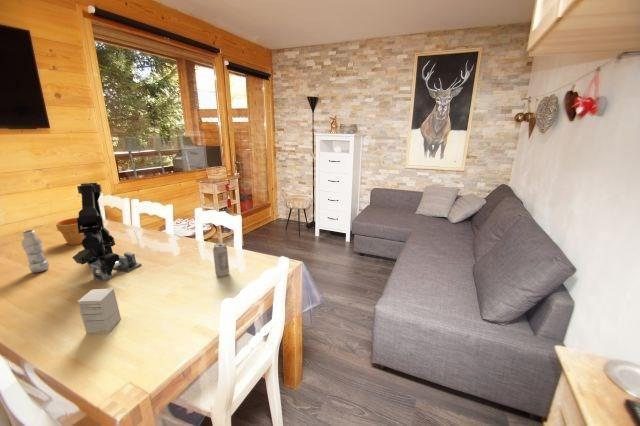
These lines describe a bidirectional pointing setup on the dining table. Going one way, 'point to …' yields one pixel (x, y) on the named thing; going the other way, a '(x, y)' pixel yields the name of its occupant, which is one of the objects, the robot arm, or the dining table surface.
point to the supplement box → (99, 310)
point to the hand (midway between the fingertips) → (102, 273)
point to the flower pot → (70, 231)
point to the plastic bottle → (34, 252)
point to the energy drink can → (221, 259)
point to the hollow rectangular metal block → (103, 272)
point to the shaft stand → (124, 263)
